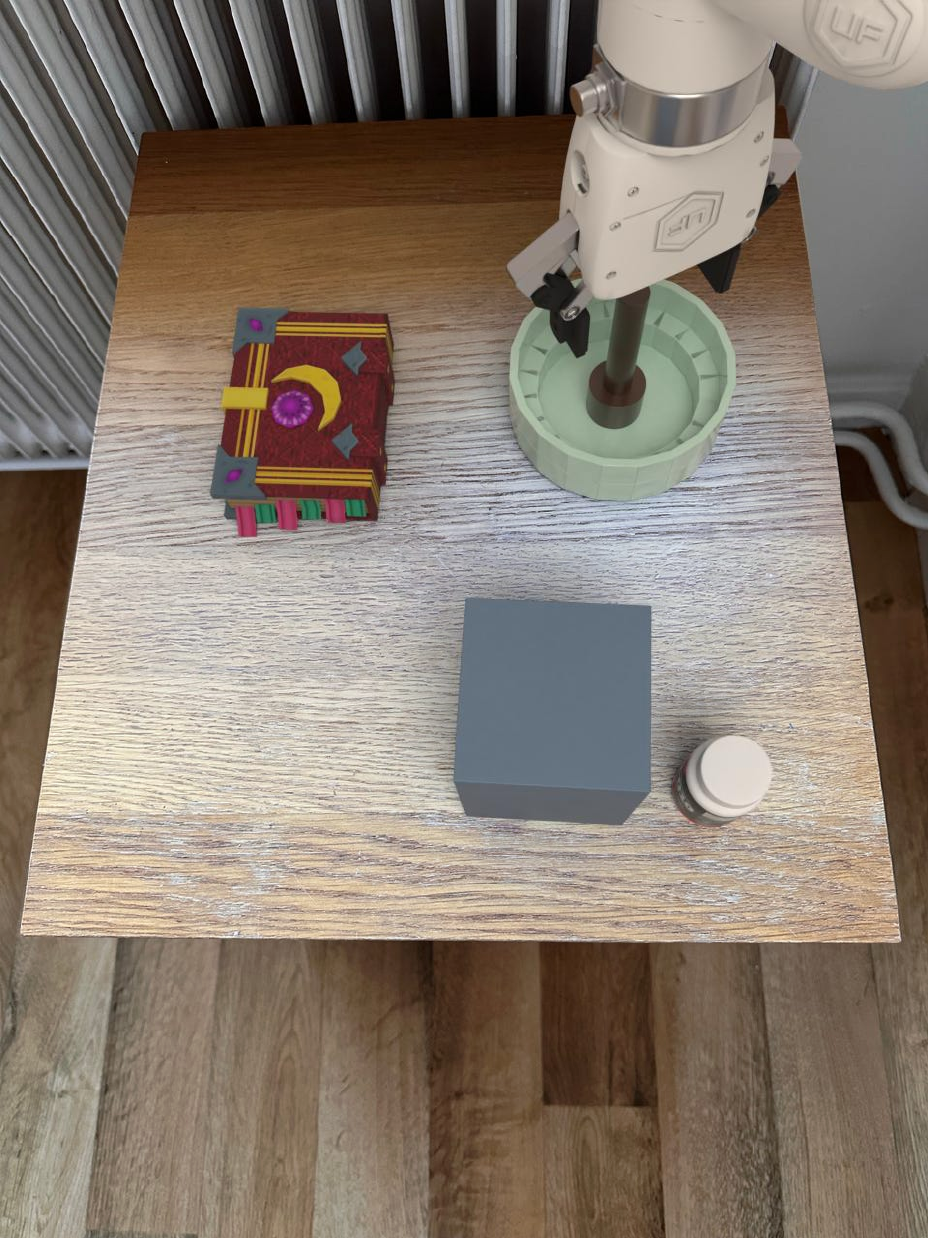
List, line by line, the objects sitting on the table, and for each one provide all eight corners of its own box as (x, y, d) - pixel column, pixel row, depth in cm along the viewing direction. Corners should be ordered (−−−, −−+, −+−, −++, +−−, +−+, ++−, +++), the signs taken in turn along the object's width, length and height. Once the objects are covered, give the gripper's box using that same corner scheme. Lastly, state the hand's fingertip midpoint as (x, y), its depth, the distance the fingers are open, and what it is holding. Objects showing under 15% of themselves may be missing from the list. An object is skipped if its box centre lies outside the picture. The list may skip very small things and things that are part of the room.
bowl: (716, 325, 74) (733, 274, 68) (720, 509, 69) (738, 470, 63) (515, 321, 75) (515, 269, 69) (505, 501, 70) (504, 462, 64)
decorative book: (398, 346, 75) (390, 305, 70) (380, 541, 70) (370, 511, 65) (252, 343, 75) (234, 302, 71) (224, 535, 70) (203, 506, 66)
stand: (624, 674, 66) (651, 604, 52) (622, 825, 62) (650, 792, 49) (475, 667, 66) (465, 597, 53) (466, 816, 63) (453, 781, 50)
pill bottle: (669, 754, 64) (691, 726, 56) (743, 755, 63) (775, 728, 56) (672, 828, 62) (694, 810, 54) (747, 830, 62) (781, 812, 54)
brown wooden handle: (641, 381, 72) (667, 264, 59) (641, 430, 70) (667, 320, 58) (586, 380, 72) (601, 263, 60) (585, 428, 71) (599, 319, 58)
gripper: (544, 200, 42) (541, 412, 58) (894, 48, 43) (797, 296, 59) (468, 84, 44) (486, 318, 60) (802, -57, 46) (733, 208, 62)
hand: (640, 306), depth 60 cm, fingers open, 9 cm apart
